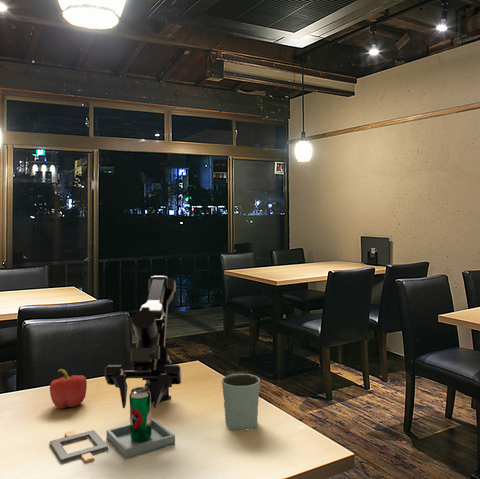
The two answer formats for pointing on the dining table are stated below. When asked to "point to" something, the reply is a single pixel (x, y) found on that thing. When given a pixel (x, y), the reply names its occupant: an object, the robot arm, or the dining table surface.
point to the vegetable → (68, 390)
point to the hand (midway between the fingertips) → (139, 407)
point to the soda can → (140, 414)
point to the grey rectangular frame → (84, 454)
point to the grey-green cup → (241, 400)
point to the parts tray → (132, 449)
